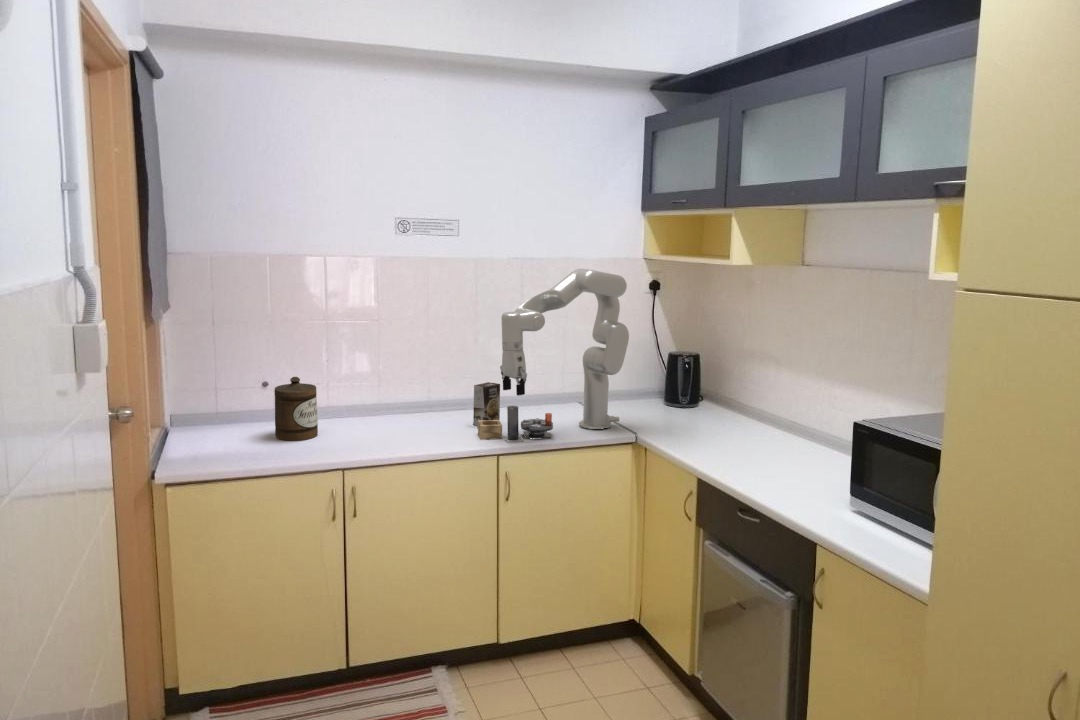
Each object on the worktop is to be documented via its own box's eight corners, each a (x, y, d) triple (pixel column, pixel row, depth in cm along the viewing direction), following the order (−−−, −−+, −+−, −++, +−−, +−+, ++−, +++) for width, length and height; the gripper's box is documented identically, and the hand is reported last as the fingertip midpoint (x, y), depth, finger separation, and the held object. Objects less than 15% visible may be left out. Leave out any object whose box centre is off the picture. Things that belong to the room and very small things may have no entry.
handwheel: (514, 428, 292) (514, 412, 291) (531, 422, 302) (532, 406, 301) (542, 433, 286) (542, 417, 285) (559, 426, 296) (559, 411, 295)
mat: (520, 437, 292) (520, 436, 291) (523, 441, 286) (523, 440, 286) (504, 438, 290) (504, 436, 290) (507, 442, 285) (507, 441, 285)
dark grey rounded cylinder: (516, 436, 290) (516, 405, 288) (520, 439, 287) (519, 407, 285) (506, 438, 289) (505, 406, 287) (509, 440, 285) (509, 408, 283)
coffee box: (485, 427, 304) (485, 387, 301) (472, 425, 308) (473, 384, 305) (500, 423, 311) (500, 383, 308) (488, 420, 315) (488, 381, 312)
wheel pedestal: (545, 431, 300) (546, 425, 300) (550, 438, 291) (551, 431, 291) (522, 432, 298) (522, 426, 298) (527, 439, 290) (527, 432, 289)
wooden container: (305, 442, 279) (303, 382, 275) (267, 439, 282) (265, 379, 278) (325, 432, 294) (323, 374, 290) (288, 429, 296) (286, 372, 293)
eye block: (498, 432, 297) (499, 419, 297) (502, 438, 290) (502, 425, 289) (477, 433, 296) (478, 420, 295) (480, 439, 288) (480, 425, 287)
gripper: (534, 348, 278) (535, 395, 282) (509, 341, 292) (510, 386, 296) (516, 351, 274) (517, 398, 278) (491, 344, 289) (493, 389, 292)
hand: (513, 392), depth 287 cm, fingers open, 9 cm apart
